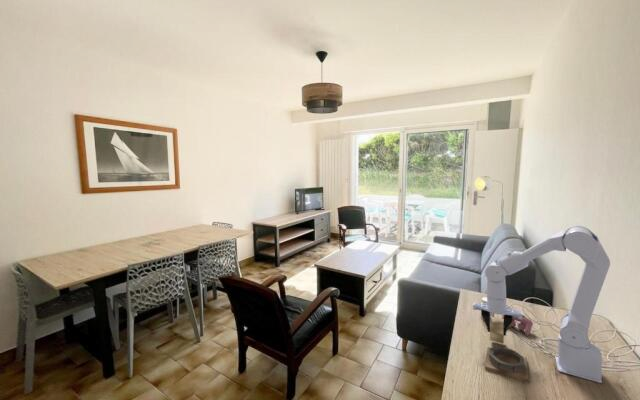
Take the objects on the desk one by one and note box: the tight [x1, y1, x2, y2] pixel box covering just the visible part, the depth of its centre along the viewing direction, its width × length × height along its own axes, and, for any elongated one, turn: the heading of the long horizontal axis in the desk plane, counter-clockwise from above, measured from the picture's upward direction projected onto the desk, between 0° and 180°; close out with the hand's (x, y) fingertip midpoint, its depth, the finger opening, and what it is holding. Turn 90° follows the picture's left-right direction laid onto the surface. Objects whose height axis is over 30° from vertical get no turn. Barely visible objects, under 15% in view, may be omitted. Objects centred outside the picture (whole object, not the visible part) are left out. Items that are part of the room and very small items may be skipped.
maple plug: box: [489, 316, 505, 344], centre depth 97 cm, size 4×4×7 cm
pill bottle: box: [480, 296, 495, 321], centre depth 113 cm, size 5×5×8 cm
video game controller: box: [500, 314, 534, 337], centre depth 105 cm, size 10×5×7 cm, turn 35°
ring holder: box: [484, 346, 530, 383], centre depth 86 cm, size 11×11×3 cm
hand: (496, 332), depth 97 cm, fingers closed on maple plug, 4 cm apart
